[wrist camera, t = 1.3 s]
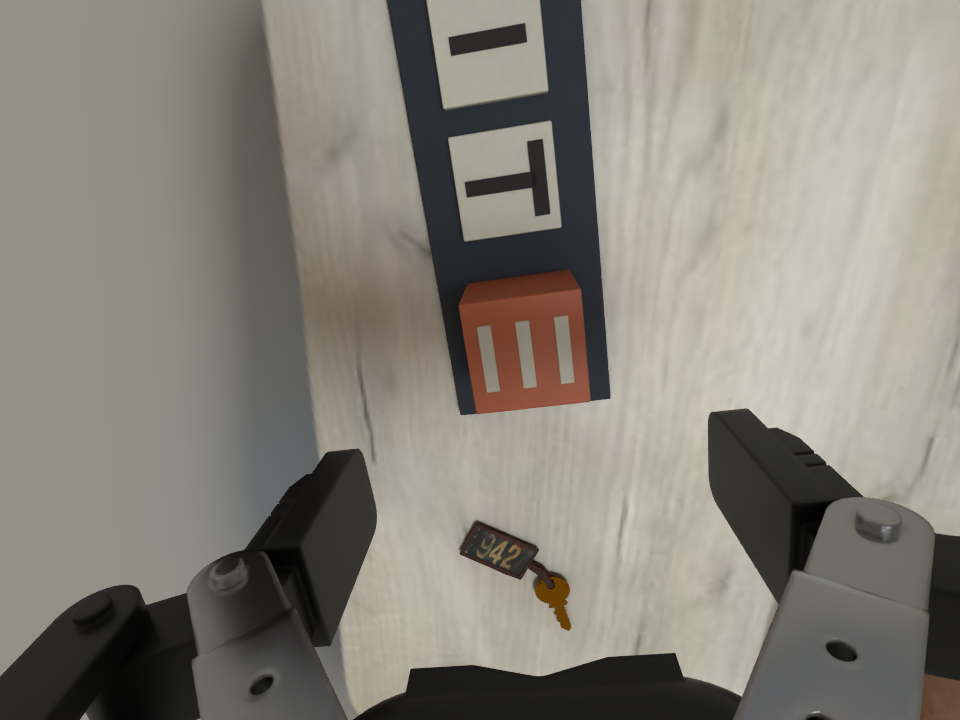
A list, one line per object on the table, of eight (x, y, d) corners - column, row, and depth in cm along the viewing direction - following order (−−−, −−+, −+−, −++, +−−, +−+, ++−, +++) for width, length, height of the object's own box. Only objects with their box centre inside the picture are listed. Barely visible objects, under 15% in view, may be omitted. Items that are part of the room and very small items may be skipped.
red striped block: (467, 283, 23) (457, 305, 19) (569, 268, 22) (581, 288, 19) (482, 377, 24) (476, 415, 20) (578, 365, 24) (591, 403, 20)
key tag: (451, 546, 28) (450, 554, 27) (488, 510, 27) (487, 517, 27) (567, 629, 29) (568, 638, 29) (605, 597, 28) (607, 606, 28)
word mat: (384, -28, 20) (376, -40, 19) (574, -66, 19) (577, -81, 18) (461, 411, 25) (459, 422, 24) (608, 394, 25) (613, 405, 24)
